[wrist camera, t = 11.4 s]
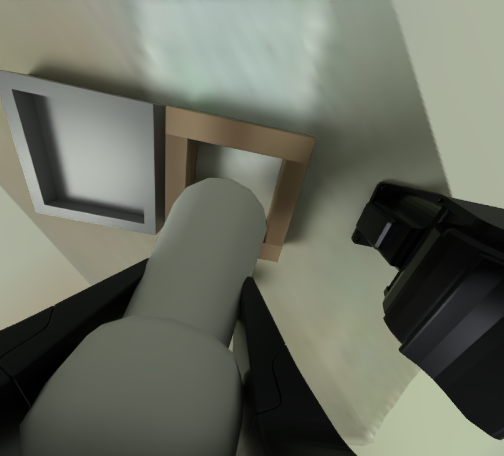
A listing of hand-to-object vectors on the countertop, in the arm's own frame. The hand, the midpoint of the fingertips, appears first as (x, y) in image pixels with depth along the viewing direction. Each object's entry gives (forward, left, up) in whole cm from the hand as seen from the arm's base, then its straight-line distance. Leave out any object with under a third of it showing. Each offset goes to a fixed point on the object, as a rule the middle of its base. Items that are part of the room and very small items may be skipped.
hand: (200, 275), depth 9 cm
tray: (+12, 0, -13) cm, 18 cm away
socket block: (0, 0, -13) cm, 13 cm away
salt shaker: (0, 0, -7) cm, 7 cm away
